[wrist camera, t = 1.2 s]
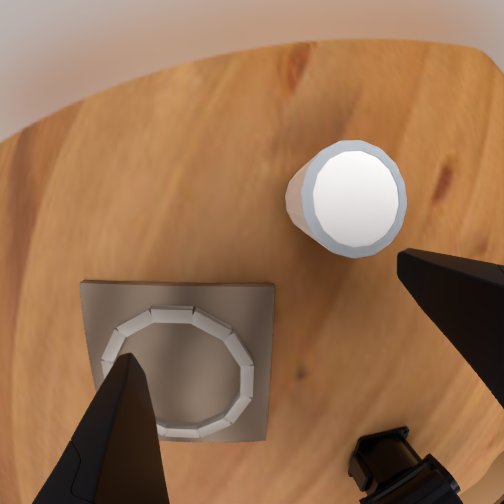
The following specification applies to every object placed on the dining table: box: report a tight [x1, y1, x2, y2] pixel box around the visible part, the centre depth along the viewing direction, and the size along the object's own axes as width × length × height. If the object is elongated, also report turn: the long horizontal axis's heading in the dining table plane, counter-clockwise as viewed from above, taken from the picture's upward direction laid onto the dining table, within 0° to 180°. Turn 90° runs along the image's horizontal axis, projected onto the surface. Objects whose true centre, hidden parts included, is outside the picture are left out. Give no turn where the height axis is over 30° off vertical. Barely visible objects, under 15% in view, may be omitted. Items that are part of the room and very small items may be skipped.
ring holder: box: [80, 280, 275, 442], centre depth 24 cm, size 15×15×2 cm
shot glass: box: [285, 140, 407, 259], centre depth 20 cm, size 7×7×7 cm
